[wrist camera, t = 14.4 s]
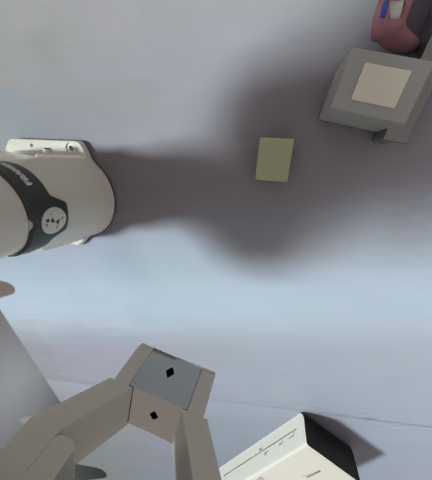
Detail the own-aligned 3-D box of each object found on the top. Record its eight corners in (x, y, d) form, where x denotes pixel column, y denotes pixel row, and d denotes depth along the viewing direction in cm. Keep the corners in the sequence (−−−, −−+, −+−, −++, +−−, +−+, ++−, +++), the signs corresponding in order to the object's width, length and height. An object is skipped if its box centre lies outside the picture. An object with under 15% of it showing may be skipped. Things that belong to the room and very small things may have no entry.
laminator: (303, 408, 46) (307, 443, 40) (354, 445, 46) (366, 486, 40) (212, 471, 59) (205, 504, 53) (251, 499, 59) (249, 536, 53)
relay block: (257, 177, 34) (255, 179, 30) (261, 140, 32) (259, 137, 28) (285, 179, 33) (287, 182, 29) (291, 141, 31) (294, 138, 27)
